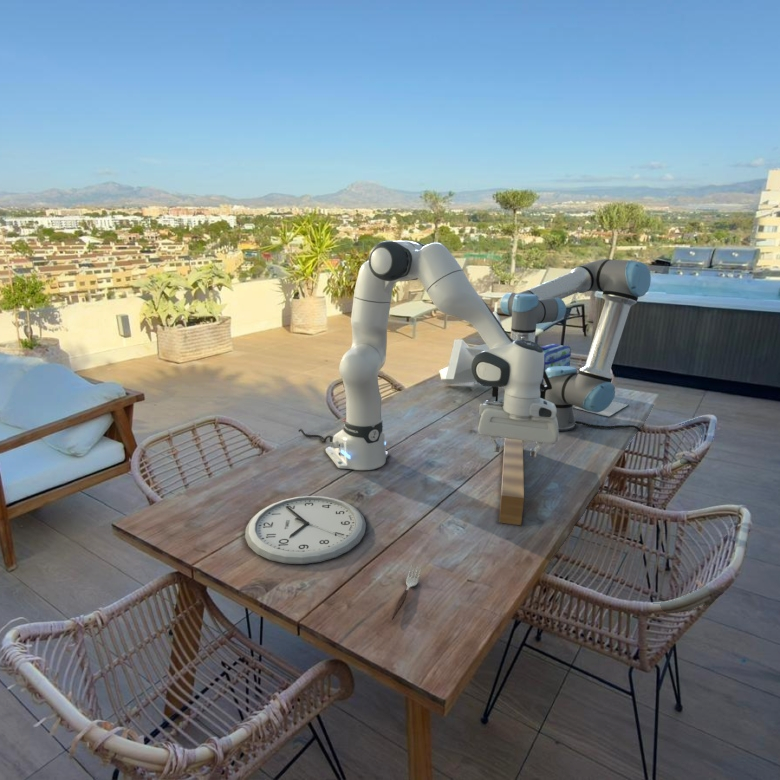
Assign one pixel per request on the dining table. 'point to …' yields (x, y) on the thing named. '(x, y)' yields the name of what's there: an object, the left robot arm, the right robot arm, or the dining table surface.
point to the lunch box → (556, 356)
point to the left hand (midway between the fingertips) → (514, 453)
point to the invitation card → (609, 409)
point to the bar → (512, 483)
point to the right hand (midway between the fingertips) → (517, 407)
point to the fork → (410, 583)
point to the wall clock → (305, 530)
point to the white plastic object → (462, 362)
